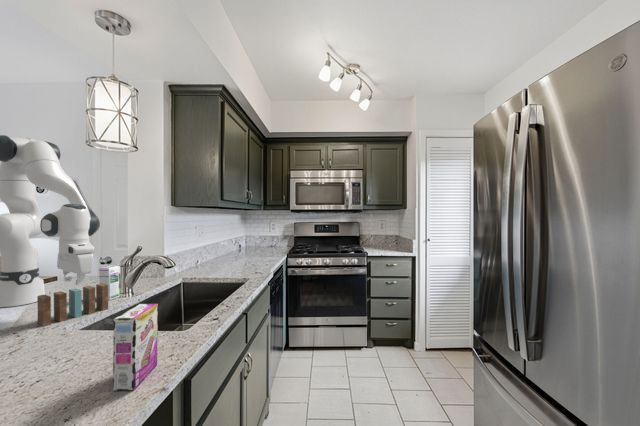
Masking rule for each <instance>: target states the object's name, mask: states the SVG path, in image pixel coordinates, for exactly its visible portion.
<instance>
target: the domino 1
mask: <svg viewBox="0 0 640 426" xmlns="http://www.w3.org/2000/svg"><path fill="white" fill-rule="evenodd" d="M45 294H46V293H45ZM45 294H44V295H39V296H37V325H39V326H41V327H46V326H51V325H52V300H51V296H50V295H49V296H48V295H45Z"/></svg>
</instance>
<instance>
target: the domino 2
mask: <svg viewBox="0 0 640 426" xmlns="http://www.w3.org/2000/svg"><path fill="white" fill-rule="evenodd" d="M67 299H68V296H67V292H64V291H62V290H61V291H55V292H53V320H54V321H57V322H58V321H59V323H62V321H63V322H66V321H67V320H68V309H67V308H68V300H67Z"/></svg>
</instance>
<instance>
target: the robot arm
mask: <svg viewBox="0 0 640 426" xmlns="http://www.w3.org/2000/svg"><path fill="white" fill-rule="evenodd" d="M60 159H61V150H60V148H59V146H58V145H57V144H55V143H53V142H49V141H44V140H39V139H35V138H31V137H30V138H29V137H21V136H19V137H18V136H10V135H3V134H1V135H0V201H1V202H2V203H4V204H5V205H6V207H7V210H8V211H9V213H1V214H0V265H1V270H0V308H11V307H18V306H23V305H24V306H25V305H28V304H33V303H36V302H37V296H39V295H44V294H45V295H48V296H50V295H49V293H45V282H44V279H42V278H41V277H40V268H39V267H38V266H39V265H38V262H39V261H38V259H39V258H38V250H37V249H36V248H34V247H33V245H32V243H31V241H30V238H33V237H37V236H39V235H41V234H44V235H45V236H47V237H51V238H59V239H58V254H57V262H56V264H57V265H56V266H57V269H59V270H62V274H63V276H64V282H72V281H73V280H72V279H73V276H72V274H71V273H73V274H76V276H77V277H76V280H75V285H76V286H83V285H84V280H85V277H86V275H87V274H92V271H93V267H94V253H95V252H96V250H95V249H96V248H95V246H94V245H92V243H91V242H90V237H92V236H93V235H94V234H95V233H97V232H98V230H99V228H100V226H101V222H100V219H99V218H98V216H97V215H96V213H95V212H94V211H93V210H92V208H91V206H90V204H89V203H88V201H87V199H86V197H85V195H84V193H83V191H82V190H81V188H80V187H79V184H78V183H77V182H76V181H75V180H74V179H72V178H71V177H70V176H69V175H68V174H67V173H66V171H64V169H63V168H62V165H61V163H60ZM36 187H38V188H39V189H43V190H47V191H50V192H54V193H56V194H58V195H61V196H63V197H64V198H66V199H67V201H68V202H69V203H67V204H63V205H61V206H60V208H59V209H58V210H56V211H54V212H49V213H47V214H45V215H44V214H43V213H42V210H41V209H40V206H39V203H38V197H37V188H36ZM37 303H38V302H37Z"/></svg>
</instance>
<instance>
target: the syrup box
mask: <svg viewBox="0 0 640 426" xmlns="http://www.w3.org/2000/svg"><path fill="white" fill-rule="evenodd" d="M101 283H102V284H107V285H108V301H112V300H114V299H117V298H118V299H119V298H121V297H120V296H122V294H121V290H122V289H121V288H122V287H121V266H120V265H109V266H104V267H99V268H98V284H101Z"/></svg>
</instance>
